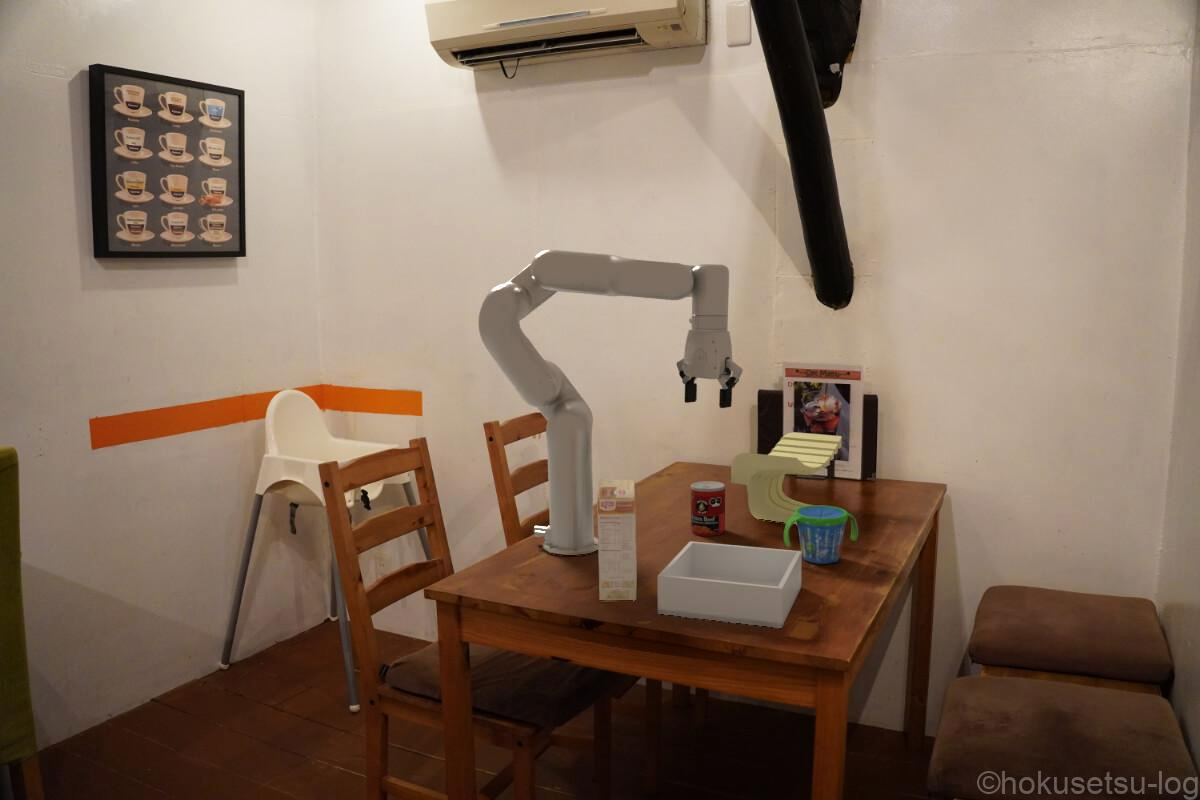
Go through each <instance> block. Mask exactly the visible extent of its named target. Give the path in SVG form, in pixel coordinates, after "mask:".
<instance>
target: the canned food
mask: <svg viewBox="0 0 1200 800" xmlns="http://www.w3.org/2000/svg"><path fill="white" fill-rule="evenodd" d="M690 529H691V533H692V534H693V535H697V536H700V535H701V536H700V537H715V536H714V535H716V536H719V535H722V534H723V533H724V532H725V530H726V486H725V483H723V482H720V481H715V480H713V481H712V480H711V481H710V480H705V481H704V480H703V481H696V482H693V483H691V485H690Z"/></svg>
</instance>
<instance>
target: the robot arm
mask: <svg viewBox="0 0 1200 800" xmlns="http://www.w3.org/2000/svg"><path fill="white" fill-rule="evenodd" d="M729 286H730V270H729V268H728V266H727V265H724V264H714V263H713V264H709V263H708V264H697V265H689V264H684V263H683V264H682V263H679V262H668V261H667V262H666V261H654V260H643V259H636V258H628V257H627V258H626V257H623V256H618V255H615V254H606V253H604V254H603V253H595V252H594V253H592V252H579V251H570V250H558V249H557V250H556V249H545V250H542V251H540V252H539V253H537V254H536V255H535V256H534V258H533V259H532V262H531V263H530V264H528V265H527V266H526V267H525V268H524V269H523V270H521V271H520V272H519V273H517V274H516V275H515V276H513V277H512V278H511V279H510V280H508V281H507V282H505V283H501V284H499V285H497V286H494V287H493V288H492V289H491V290H489V292H488V294H487V295H486V296H485V298H484V300H483V302H482V304H481V307H480V310H479V314H478V331H479V335H480V338H481V341H482V344H484V347H485V348H486V350H487V351H488V353H489V354H490V356H491V358H492V359H493V360H494V361H495V363H496V364H497V366H498V367H499V368H500V370H501V371H502V373H503V374H504V375H505V377H506V378H507V380H508V381H509V382H510V384H511V385H512V386H513V387H514V389H515V390H516V392H517V393H518V395H519V397H521V399H522V401H524V403H526V404H527V405H529V406H530V407H533V408H537V410H538V411H539V412H540V414H541V415H542V416H543V417H544V419H545V420H546V429H545V437H546V438H545V439H546V451H547V453H546V454H547V472H548V473H547V475H548V476H547V479H548V505H549V506H548V507H549V509H548V510H549V512H548V513H549V514H548V515H549V516H548V517H549V525H548V526H542V525H535V526H534V527H533V534H534V537H535V538H544V539H545V541H544V542H543V543H542V548H544V549H545V550H547V551H549V552H553V553H557V554H585V553H590V552H593V553H595V552H594V551H596V550H598V537H595V532H594V531H595V530H594V485H593V484H594V481H593V444H592V443H593V422H594V416H593V412H592V410H591V408H590V407H589V405H588V404H587V402H586V401H585V399H584V398H583V397H582V396H581V394H580V393H579V391H578V390H577V389H576V387H575V386H574V385H573V384H572V382H571V381H570V380H569V378H568V377H567V375H565V373H564V371H563V370H562V369H561V368H560V367H559V366H558V365H557V364H555V362H552V361H549V360H547V359H544V358H543V357H542V355H541V354H540V353H539V351H538V350H537V348H536V347H535V345H534V344H533V343H532V341H531V340H530V339H529V338H528V337H527V336H526V334H525V332H523V330H522V328H521V324H520V321H522V320H523V319H524V318H527V317H528V315H530V314H531V313H532V312H534V311H535V310H537V308H539V307H540V306H541V305H542V304H544V303H545V302H546V301H548V300H549V299H551V297H553V296H554V295H555V294H557V292H563V293H571V294H573V293H574V294H584V295H585V294H586V295H596V296H605V297H607V296H608V297H633V298H644V299H657V300H666V301H679V300H683V299H685V298H692V299H691V300H692V301H691V302H692V303H691V305H692V306H691V316H690V318H689V321H688V322H689V323H690V324H691V329H688V330H687V331H688V332H687V335H686V339H685V340H686V341H685V344H684V354H683V355H684V356H683V358H682V359H680V360H679V361H676V368H677V370H678V375H679V376H680V378H681V380H682V381H681V382H682V383H683V385H684V403H685V404H686V403H687V404H690V403H694V402H697V399H698V394H697V393H698V392H697V391H698V385H697V382H696V381H697V380H698V379H706V380H718V384H719V385H720V386H721V388H719V400H718V401H719V403H718V406H719V408H720V409H725V408H731V407H732V401H733V400H732V399H733V389H734V388H735V387H736V385H737V383H739V381H740V378H741V375H742V374H743V368H742V367H741V366H739V365H738V364H737V363H736V362H735V361H734V360H733V350H732V349H733V348H732V339H731V334H730V331H729V330H728V327H729V326H728V323H729V322H728V321H729V318H728V317H729V296H730V295H729V292H730V291H729V289H730V287H729ZM695 382H696V383H695ZM544 549H543V550H544ZM545 550H544V551H545ZM596 552H597V551H596ZM590 554H591V553H590ZM585 555H586V554H585Z"/></svg>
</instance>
